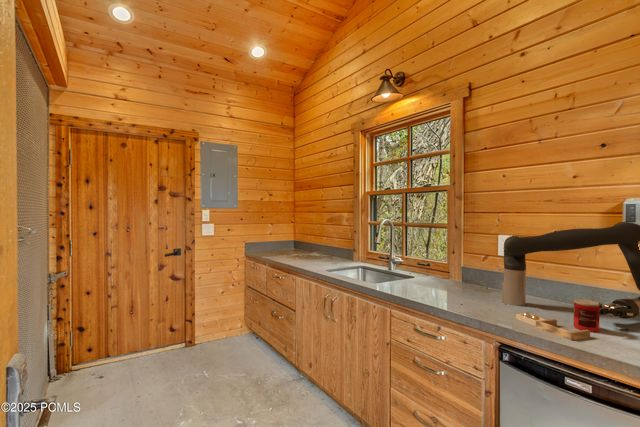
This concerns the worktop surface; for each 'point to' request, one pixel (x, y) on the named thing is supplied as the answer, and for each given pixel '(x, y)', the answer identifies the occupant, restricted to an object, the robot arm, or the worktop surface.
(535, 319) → the brass ball
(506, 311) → the worktop surface
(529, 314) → the steel ball
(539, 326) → the birch holder
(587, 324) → the canned food
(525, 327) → the worktop surface
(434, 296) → the worktop surface
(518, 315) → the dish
